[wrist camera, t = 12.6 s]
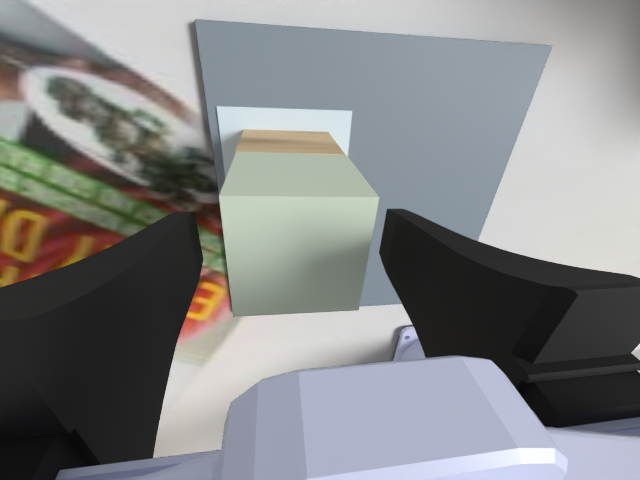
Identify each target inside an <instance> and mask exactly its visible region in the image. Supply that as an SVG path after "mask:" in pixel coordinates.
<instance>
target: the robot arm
mask: <svg viewBox="0 0 640 480" xmlns="http://www.w3.org/2000/svg"><path fill="white" fill-rule="evenodd" d="M379 254H380V257H381V260H382V264H383V266H384V269H385V272H386V274H387V276H388V278H389V280H390V282H391V284H392V286H393V288H394V289H395V291H396V293H397V295H398V297H399V299H400V301H401V303H402V304H403V306H404V308H405V310H406V312H407V314H408V316H409V318H410V320H411V322H412V324H413V326H412V327H405V328H403V329H402V331H401V334H400V337H399V341H398V345H397V348H396V352H395V355H394V359H393V361H389V362H378V363H367V364H357V365H346V366H335V367H324V368H313V369H302V370H296V371H292V372H288V373H284V374H280V375H276V376H272V377H269V378H265V379H262V380H261V381H259V382H258V383H257V384H255V385H254V386H253V387H251V388H250V389H248V390H247V391H246V392H244V393H243V394H242V395H240V396H239V397H238V398H236V399H235V400H233V401H232V402H231V404H230V407H229V411H228V414H227V418H226V422H225V426H224V434H223V441H222V449H221V450H216V451H208V452H200V453H192V454H184V455H176V456H168V457H160V458H153V453H154V447H155V441H156V435H157V430H158V425H159V420H160V415H161V410H162V404H163V399H164V395H165V390H166V386H167V381H168V377H169V372H170V368H171V364H172V359H173V355H174V351H175V347H176V343H177V340H178V337H179V334H180V331H181V328H182V325H183V323H184V320H185V317H186V315H187V312H188V309H189V307H190V304H191V301H192V299H193V296H194V293H195V290H196V288H197V285H198V282H199V278H200V273H201V268H202V263H203V255H202V250H201V245H200V240H199V235H198V229H197V224H196V219H195V214H194V212H175V213H172V214H170V215H168V216H166V217H164V218H162V219H161V220H159V221H157V222H155V223H154V224H152V225H150V226H148V227H147V228H145V229H143V230H141V231H140V232H138V233H136V234H134V235H132V236H130V237H128V238H127V239H125V240H123V241H121V242H119V243H117V244H115V245H113V246H111V247H109V248H107V249H105V250H103V251H101V252H99V253H96V254H94V255H92V256H90V257H87V258H85V259H82V260H80V261H78V262H75V263H73V264H70V265H68V266H65V267H62V268H59V269H56V270H53V271H50V272H48V273H45V274H42V275H39V276H36V277H33V278H30V279H27V280H24V281H21V282H17V283H14V284H11V285H7V286H4V287H1V288H0V480H640V373H639V372H638V371H637V370H640V360H638V359H637V358H636V357H635V356H634V355H633V354H631V352H632V351H633V350H634V349H635V348H636V347H637V346H638V345H639V343H640V278H637V277H634V276H631V275H626V274H619V273H612V272H605V271H598V270H591V269H584V268H578V267H573V266H568V265H562V264H557V263H552V262H548V261H543V260H539V259H534V258H531V257H527V256H523V255H519V254H516V253H512V252H508V251H505V250H502V249H499V248H496V247H493V246H490V245H487V244H484V243H481V242H478V241H476V240H473V239H471V238H468V237H466V236H463V235H461V234H459V233H456V232H454V231H452V230H449V229H447V228H445V227H443V226H441V225H439V224H437V223H434V222H432V221H430V220H428V219H426V218H424V217H422V216H420V215H418V214H415V213H413V212H411V211H408V210H405V209H387V211H386V217H385V222H384V228H383V233H382V239H381V244H380V249H379Z"/></svg>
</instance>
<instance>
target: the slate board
mask: <svg viewBox="0 0 640 480" xmlns="http://www.w3.org/2000/svg"><path fill="white" fill-rule="evenodd" d="M195 26H196V33H197V40H198V47H199V55H200V62H201V69H202V76H203V83H204V91H205V98H206V105H207V112H208V120H209V127H210V134H211V141H212V149H213V156H214V163H215V170H216V177H217V185H218V192H219V194H220V192H221V189H222V187H223V184H224V182H225V179H226V177H227V174H228V171H229V169H230V166H231V164H232V161H233V159H234V156H235V150H236V148H237V145H238V143H239V140H240V138H241V136H242V133H243V131H244V129H255V130H285V131H316V132H329V134H330V135H331V136H332V138H333V139H334V140H335V141H336V143H337V144H338V145H339V147H340V148H341V149H342V151H343V152H344V153H345V155H347V156H348V157H349V159H350V160H351V161H352V163H353V164H354V165H355V166H356V168H357V169H358V170H359V172H360V173H361V174H362V175H363V177H364V178H365V179H366V181H367V182H368V183H369V184H370V186H371V187H372V188H373V190H374V191H375V192H376V194H377V195H378V196H379V202H378V208H377V213H376V219H375V224H374V230H373V235H372V240H371V246H370V251H369V257H368V262H367V267H366V273H365V278H364V284H363V289H362V294H361V300H360V305H359V306H375V305H390V304H402V303H401V301H400V299H399V297H398V295H397V293H396V291H395V289H394V288H393V286H392V284H391V282H390V280H389V278H388V276H387V274H386V272H385V269H384V266H383V264H382V260H381V257H380V254H379V249H380V244H381V239H382V233H383V228H384V222H385V217H386V211H387V209H405V210H408V211H411V212H413V213H415V214H418V215H420V216H422V217H424V218H426V219H428V220H430V221H432V222H434V223H437V224H439V225H441V226H443V227H445V228H447V229H449V230H452V231H454V232H456V233H459V234H461V235H463V236H466V237H468V238H471V239H473V240H476V241H478V239H479V236H480V233H481V231H482V228H483V226H484V223H485V220H486V218H487V215H488V213H489V210H490V207H491V205H492V202H493V199H494V197H495V194H496V192H497V189H498V186H499V184H500V181H501V179H502V176H503V173H504V171H505V168H506V166H507V163H508V160H509V158H510V155H511V153H512V150H513V147H514V145H515V142H516V140H517V137H518V134H519V132H520V129H521V126H522V124H523V121H524V119H525V116H526V113H527V111H528V108H529V106H530V103H531V100H532V98H533V95H534V93H535V90H536V87H537V85H538V82H539V80H540V77H541V74H542V72H543V69H544V67H545V64H546V61H547V59H548V56H549V53H550V51H551V48H552V46H551V45H538V44H524V43H511V42H497V41H484V40H470V39H457V38H443V37H429V36H416V35H402V34H389V33H375V32H362V31H348V30H335V29H321V28H308V27H294V26H281V25H267V24H254V23H240V22H227V21H213V20H200V19H195Z"/></svg>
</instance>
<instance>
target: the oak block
mask: <svg viewBox="0 0 640 480" xmlns="http://www.w3.org/2000/svg"><path fill="white" fill-rule="evenodd" d="M236 151H237V152H269V153H300V154H332V155H345V153H344V152H343V151H342V149H341V148H340V147H339V145H338V144H337V143H336V141H335V140H334V139H333V138H332V136H331V135H330V134H329V132H316V131H285V130H255V129H244V131H243V133H242V136H241V138H240V140H239V143H238V145H237V148H236V150H235V154H236Z"/></svg>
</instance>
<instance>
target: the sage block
mask: <svg viewBox="0 0 640 480" xmlns="http://www.w3.org/2000/svg"><path fill="white" fill-rule="evenodd" d="M219 201H220V209H221V218H222V226H223V235H224V243H225V252H226V260H227V269H228V277H229V286H230V294H231V303H232V311H233V317H235V316H255V315H274V314H294V313H313V312H333V311H352V310H359V305H360V300H361V294H362V289H363V284H364V278H365V273H366V267H367V262H368V257H369V251H370V246H371V240H372V235H373V230H374V224H375V219H376V213H377V208H378V202H379V196H378V195H377V194H376V192H375V191H374V190H373V188H372V187H371V186H370V184H369V183H368V182H367V181H366V179H365V178H364V177H363V175H362V174H361V173H360V172H359V170H358V169H357V168H356V166H355V165H354V164H353V163H352V161H351V160H350V159H349V157H348V156H347V155H332V154H300V153H269V152H237V151H236V154H235V156H234V159H233V161H232V164H231V166H230V169H229V171H228V174H227V177H226V179H225V182H224V184H223V187H222V189H221V192H220V194H219Z"/></svg>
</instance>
